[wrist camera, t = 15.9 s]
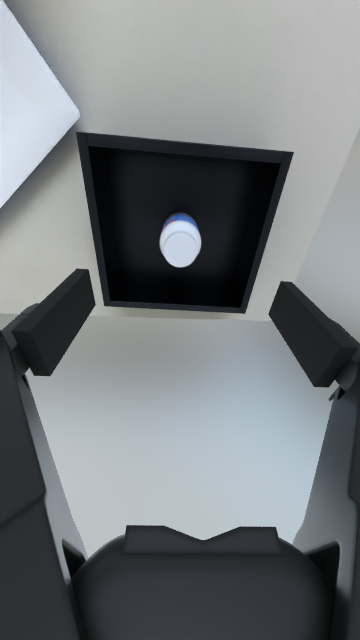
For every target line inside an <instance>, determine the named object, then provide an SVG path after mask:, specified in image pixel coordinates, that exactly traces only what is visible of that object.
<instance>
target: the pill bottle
mask: <svg viewBox="0 0 360 640" xmlns="http://www.w3.org/2000/svg"><path fill="white" fill-rule="evenodd" d="M200 248H201V237H200V233H199V230H198V227H197V224H196V222H195V221H194V219H193V218H192V217H191V216H190V215H188V214H186V213H175V214H173V215H171V216H170V217H168V219H167V220H166V221H165V223H164V225H163V229H162V232H161V236H160V249H161V252H162V254H163V255H164V257H165V258H166V260H167V261H168V262H169V263H170V264H171V265H173V266H175V267H185V266H188V265H190V264H191V263H192V262H193V261H194V259H195V258H196V256H197V255H198V253H199V251H200Z"/></svg>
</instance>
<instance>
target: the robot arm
mask: <svg viewBox="0 0 360 640" xmlns="http://www.w3.org/2000/svg"><path fill="white" fill-rule="evenodd" d="M94 306H95V300H94V294H93V289H92V284H91V279H90V274H89V269H76V270H75V271H74V272H73V273H72V274H71V275H70V276H69V277H67V278H66V279H65V280H64V281H63V282H62V283H61V284H60V285H59V286H58V287H57V288H56V289H55V290H54V291H53V292H51V293H50V294H49V295H48V296H47V297H46V298H45V299H44V300H43V301H42V302H41V303H36V304H34V305H32V306H30V307H28V308H26V309H25V310H24V311H23V312H22V313H21V314H20V315H18V316H17V317H16V318H15V320H13V321H12V322H10V323H9V324H8V325H7V326H6V327H5V328H4V329H3V330H1V331H0V640H360V343H358V342H357V341H356V340H355V339H354V338H353V337H352V336H350V334H349V333H348V332H347V331H345V329H344V328H343V327H342V326H340V325H339V324H338V323H336V322H335V321H333V320H331V319H329V318H328V317H327V316H326V315H325V314H324V313H323V312H322V311H321V310H320V309H319V308H318V307H317V306H316V305H315V304H314V303H313V302H312V301H310V300H309V299H308V298H307V297H306V296H305V295H304V294H303V293H302V292H301V291H300V290H299V289H298V288H297V287H296V286H295V285H294V284H293V283H292V282H284V281H281V282H280V285H279V287H278V290H277V293H276V295H275V298H274V301H273V303H272V306H271V309H270V311H269V314H268V315H269V316H270V318H271V319H272V321H273V322H274V324H275V326H276V327H277V329H278V330H279V332H280V334H281V335H282V337H283V338H284V340H285V341H286V343H287V345H288V346H289V348H290V349H291V351H292V353H293V354H294V356H295V357H296V359H297V360H298V362H299V364H300V365H301V367H302V368H303V370H304V372H305V373H306V375H307V376H308V378H309V379H310V381H311V383H312V384H313V386H314V387H329V386H330V385H331V384H332V382H333V381H334V380H336V381H337V383H338V384H339V385H340V386H339V387H338V388H337V389H336V391H335V392H334V393H333V394H332V395H331V397H330V398H329V400H330V401H331V400H332V399H333V404H332V408H331V412H330V416H329V420H328V424H327V429H326V432H325V436H324V440H323V444H322V449H321V453H320V457H319V461H318V465H317V469H316V473H315V477H314V482H313V486H312V489H311V494H310V498H309V502H308V506H307V510H306V514H305V518H304V521H303V523H302V526H301V527H300V529H299V531H298V532H297V534H296V536H295V538H294V541H293V544H290V543H288V542H287V541H284V540H283V539H281V538H279V537H278V533H277V530H276V527H238V528H235V529H233V530H230V531H228V532H225V533H222V534H220V535H218V536H215V537H212V538H210V539H207V540H199V539H197V538H194V537H191V536H189V535H186V534H184V533H181V532H179V531H176V530H174V529H171V528H168V527H166V526H140V525H139V526H138V525H137V526H136V525H127V526H126V533H125V534H124V535H121V536H118V537H116V538H115V539H113V540H111V541H109V542H108V543H106V544H105V545H103V546H102V547H101V548H99V549H98V550H97V551H96V552H95V553H94V554H93V555H92V556H91V557H89V558H88V556H87V554H86V551H85V547H84V545H83V542H82V539H81V537H80V534H79V532H78V530H77V528H76V525H75V523H74V521H73V518H72V516H71V513H70V509H69V506H68V503H67V500H66V497H65V494H64V491H63V488H62V485H61V482H60V479H59V475H58V472H57V469H56V466H55V463H54V460H53V457H52V454H51V451H50V448H49V445H48V441H47V438H46V435H45V432H44V429H43V426H42V423H41V420H40V417H39V414H38V411H37V408H36V404H35V401H34V398H33V395H32V392H31V389H30V386H29V383H28V380H27V377H26V375H25V372H26V371H27V370H28V369H29V367H30V369H31V371H32V372H33V375H34V376H50V375H51V374H52V373H53V371H54V370H55V368H56V366H57V365H58V363H59V362H60V360H61V359H62V357H63V355H64V354H65V352H66V351H67V349H68V347H69V346H70V344H71V343H72V341H73V339H74V338H75V336H76V335H77V333H78V332H79V330H80V329H81V327H82V325H83V324H84V322H85V321H86V319H87V317H88V316H89V314H90V313H91V311H92V310H93V308H94Z"/></svg>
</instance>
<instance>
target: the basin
mask: <svg viewBox="0 0 360 640" xmlns="http://www.w3.org/2000/svg"><path fill="white" fill-rule="evenodd" d="M76 135H77V141H78V147H79V154H80V160H81V166H82V172H83V178H84V184H85V190H86V197H87V203H88V209H89V215H90V221H91V227H92V233H93V240H94V246H95V252H96V258H97V264H98V270H99V276H100V282H101V289H102V295H103V301H104V306H111V307H130V308H149V309H168V310H187V311H205V312H224V313H242V314H245V312H246V309H247V306H248V302H249V299H250V296H251V292H252V289H253V286H254V282H255V279H256V276H257V273H258V269H259V266H260V263H261V259H262V256H263V253H264V249H265V246H266V243H267V239H268V236H269V233H270V229H271V226H272V223H273V219H274V216H275V213H276V209H277V206H278V203H279V200H280V196H281V193H282V190H283V186H284V183H285V180H286V176H287V173H288V170H289V166H290V163H291V160H292V156H293V153H294V152H287V151H276V150H265V149H255V148H244V147H233V146H223V145H212V144H202V143H191V142H181V141H170V140H160V139H149V138H138V137H128V136H117V135H107V134H96V133H86V132H76ZM175 213H186V214H188V215H190V216H191V217H192V218H193V219H194V221H195V222H196V224H197V227H198V230H199V233H200V237H201V248H200V251H199V253H198V255H197V256H196V258H195V259H194V261H193V262H192V263H191V264H190V265H188V266H185V267H175V266H173V265H171V264H170V263H169V262H168V261H167V260H166V258H165V257H164V255H163V254H162V252H161V249H160V236H161V232H162V229H163V225H164V223H165V221H166V220H167V219H168V217H170V216H171V215H173V214H175Z"/></svg>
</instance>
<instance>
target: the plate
mask: <svg viewBox="0 0 360 640" xmlns="http://www.w3.org/2000/svg"><path fill="white" fill-rule="evenodd" d="M79 117H80V113H79V110H78V109H77V107H76V106H75V104H74V103H73V101H72V100H71V99H70V97H69V96H68V94H67V93H66V91H65V90H64V88H63V87H62V85H61V84H60V83H59V81H58V80H57V78H56V77H55V75H54V74H53V72H52V71H51V69H50V68H49V67H48V65H47V64H46V62H45V61H44V59H43V58H42V56H41V55H40V53H39V52H38V51H37V49H36V48H35V46H34V45H33V43H32V42H31V40H30V39H29V37H28V36H27V35H26V33H25V32H24V30H23V29H22V27H21V26H20V24H19V23H18V21H17V20H16V19H15V17H14V16H13V14H12V13H11V11H10V10H9V8H8V7H7V6H6V4H5V3H4V1H3V0H0V208H1V207H2V206H3V205H4V203H5V202H6V201H7V200H8V199H9V198H10V197H11V195H12V194H13V193H14V192H15V191H16V190H17V189H18V187H19V186H20V185H21V184H22V183H23V182H24V180H25V179H26V178H27V177H28V176H29V175H30V174H31V172H32V171H33V170H34V169H35V168H36V167H37V166H38V164H39V163H40V162H41V161H42V160H43V159H44V157H45V156H46V155H47V154H48V153H49V152H50V151H51V149H52V148H53V147H54V146H55V145H56V144H57V143H58V141H59V140H60V139H61V138H62V137H63V136H64V134H65V133H66V132H67V131H68V130H69V129H70V128H71V126H72V125H73V124H74V123H75V122H76V121H77V120H78V118H79Z"/></svg>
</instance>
